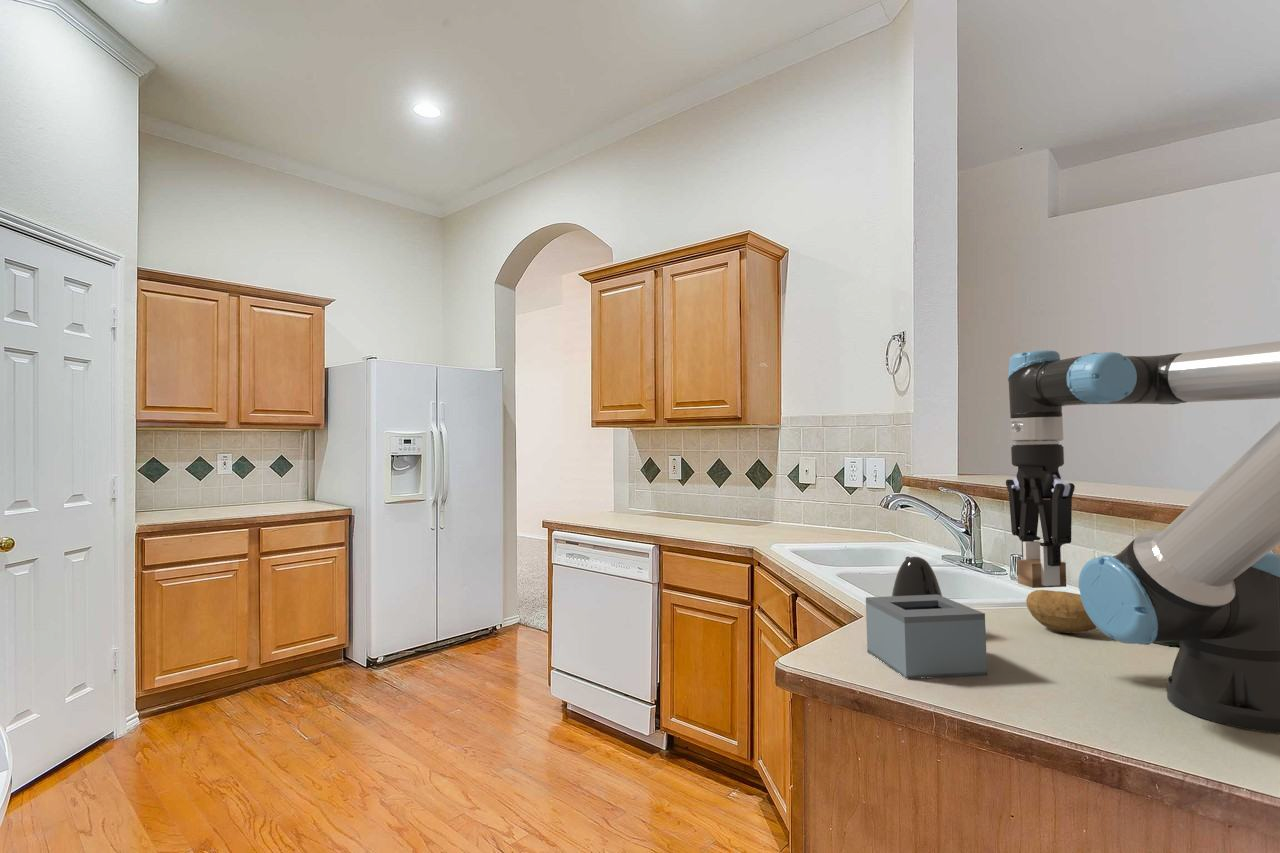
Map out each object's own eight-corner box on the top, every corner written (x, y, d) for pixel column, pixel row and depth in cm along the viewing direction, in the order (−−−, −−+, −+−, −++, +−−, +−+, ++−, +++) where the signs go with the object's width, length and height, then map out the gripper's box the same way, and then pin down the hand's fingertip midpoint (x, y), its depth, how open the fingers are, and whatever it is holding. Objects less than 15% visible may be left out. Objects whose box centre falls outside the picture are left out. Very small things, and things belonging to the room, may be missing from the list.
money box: (987, 674, 104) (984, 613, 104) (906, 679, 103) (904, 617, 103) (939, 648, 118) (937, 594, 118) (867, 651, 117) (865, 597, 117)
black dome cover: (934, 624, 134) (932, 552, 134) (954, 639, 123) (951, 561, 124) (885, 624, 135) (882, 552, 135) (900, 638, 124) (897, 561, 125)
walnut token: (1066, 586, 105) (1065, 562, 105) (1032, 587, 104) (1031, 563, 104) (1050, 582, 108) (1049, 558, 108) (1017, 583, 107) (1017, 559, 108)
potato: (1113, 643, 119) (1111, 601, 119) (1026, 632, 127) (1024, 592, 127) (1110, 630, 127) (1108, 590, 127) (1028, 621, 135) (1026, 583, 135)
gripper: (985, 443, 115) (989, 573, 114) (1051, 443, 98) (1057, 594, 97) (1024, 443, 115) (1028, 571, 115) (1096, 442, 99) (1102, 593, 98)
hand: (1041, 582), depth 106 cm, fingers closed on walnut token, 3 cm apart
